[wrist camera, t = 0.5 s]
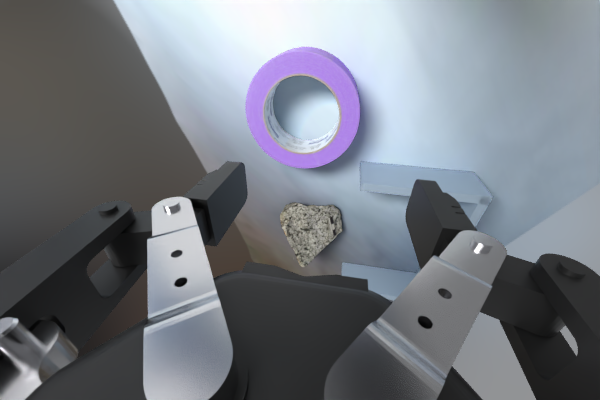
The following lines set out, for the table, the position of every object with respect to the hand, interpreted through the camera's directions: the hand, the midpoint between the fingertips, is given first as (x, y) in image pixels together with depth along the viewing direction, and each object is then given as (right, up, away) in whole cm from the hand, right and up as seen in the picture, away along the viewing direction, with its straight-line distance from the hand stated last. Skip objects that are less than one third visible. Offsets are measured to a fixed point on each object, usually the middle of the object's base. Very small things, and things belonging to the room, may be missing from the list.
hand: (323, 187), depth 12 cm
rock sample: (+1, -3, +26) cm, 26 cm away
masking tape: (0, +10, +16) cm, 19 cm away
